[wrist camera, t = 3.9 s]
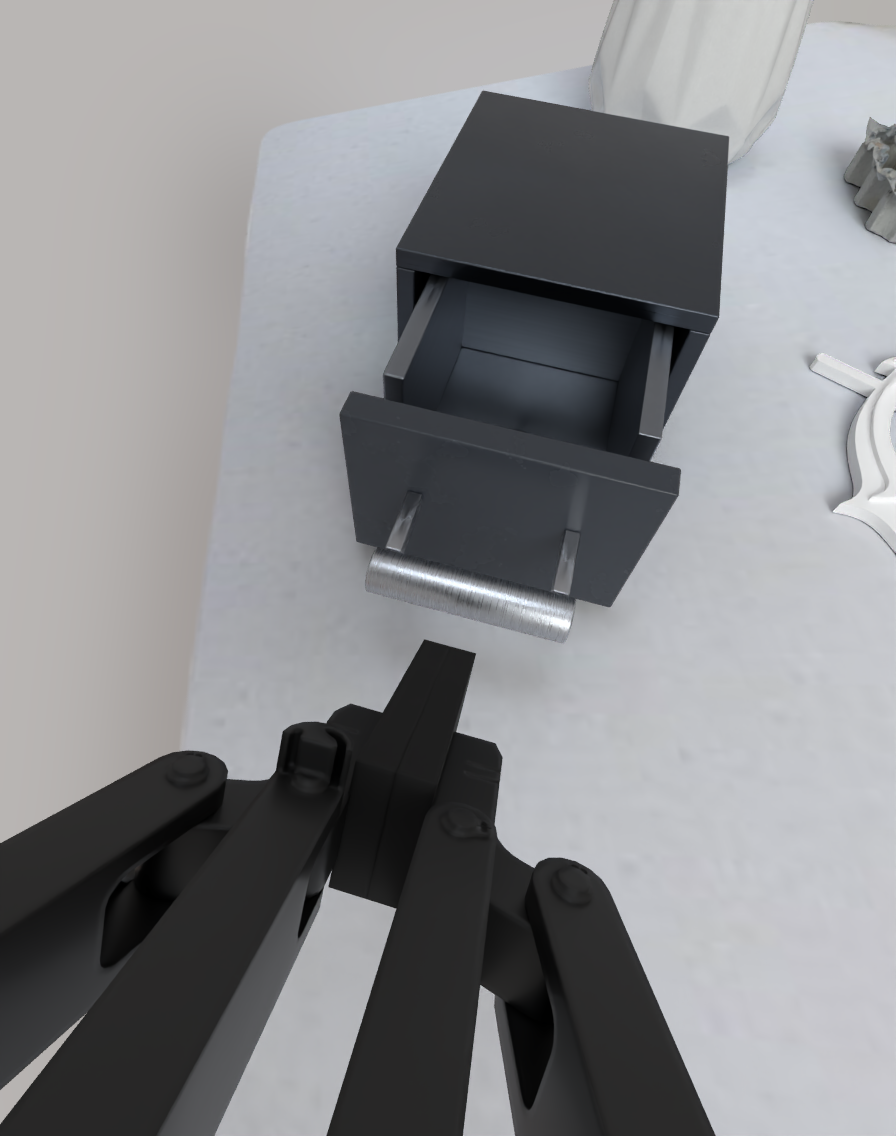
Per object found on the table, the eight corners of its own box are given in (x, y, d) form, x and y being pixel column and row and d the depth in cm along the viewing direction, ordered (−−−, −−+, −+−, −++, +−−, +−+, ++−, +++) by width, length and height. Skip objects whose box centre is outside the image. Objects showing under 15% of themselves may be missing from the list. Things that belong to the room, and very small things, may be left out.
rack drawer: (596, 702, 24) (669, 612, 17) (320, 627, 25) (287, 513, 18) (641, 394, 33) (700, 256, 26) (438, 347, 34) (444, 204, 27)
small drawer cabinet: (637, 481, 31) (719, 316, 23) (398, 424, 32) (395, 247, 24) (661, 306, 38) (730, 135, 30) (467, 265, 40) (482, 89, 31)
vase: (600, 191, 45) (677, -110, 32) (563, 102, 52) (614, -175, 39) (780, 192, 46) (924, -97, 33) (720, 104, 54) (820, -162, 41)
